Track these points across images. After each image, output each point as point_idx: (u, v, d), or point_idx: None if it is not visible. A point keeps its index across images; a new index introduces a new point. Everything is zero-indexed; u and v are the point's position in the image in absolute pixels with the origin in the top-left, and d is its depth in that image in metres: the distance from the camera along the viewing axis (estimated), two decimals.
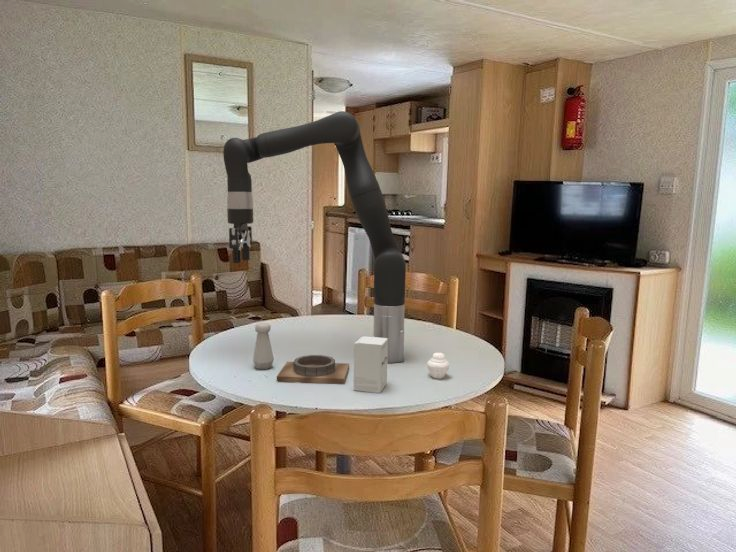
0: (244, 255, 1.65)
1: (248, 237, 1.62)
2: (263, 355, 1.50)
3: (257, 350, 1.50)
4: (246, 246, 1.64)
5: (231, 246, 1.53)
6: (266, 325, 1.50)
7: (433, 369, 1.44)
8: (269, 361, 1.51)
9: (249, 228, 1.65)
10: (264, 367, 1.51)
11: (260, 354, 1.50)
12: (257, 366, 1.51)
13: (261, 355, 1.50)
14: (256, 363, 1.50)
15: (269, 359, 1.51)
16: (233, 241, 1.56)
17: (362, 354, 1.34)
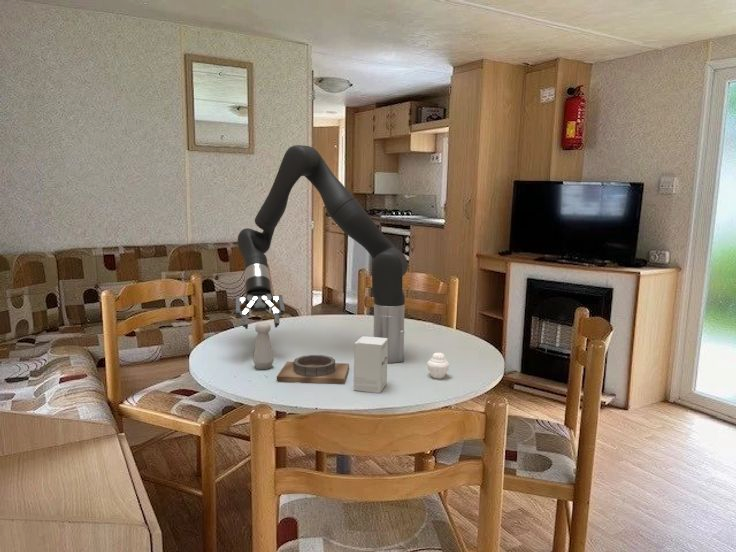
0: (274, 322, 1.58)
1: (266, 302, 1.59)
2: (263, 355, 1.50)
3: (257, 350, 1.50)
4: (274, 313, 1.59)
5: None
6: (266, 325, 1.50)
7: (433, 369, 1.44)
8: (269, 361, 1.51)
9: (278, 296, 1.62)
10: (264, 367, 1.51)
11: (261, 353, 1.50)
12: (257, 366, 1.51)
13: (261, 355, 1.50)
14: (256, 363, 1.50)
15: (269, 359, 1.51)
16: None
17: (362, 354, 1.34)
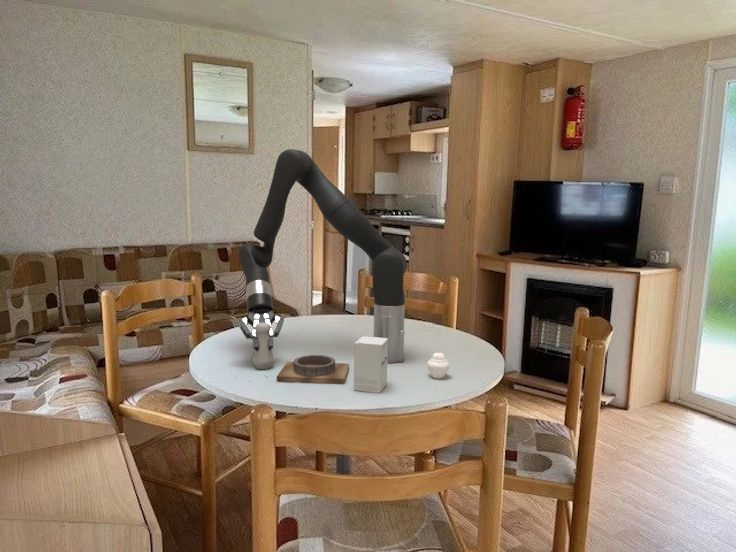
0: None
1: (265, 321, 1.54)
2: (263, 355, 1.50)
3: None
4: None
5: (245, 335, 1.52)
6: (266, 325, 1.50)
7: (433, 369, 1.44)
8: (269, 361, 1.51)
9: (280, 318, 1.56)
10: (264, 367, 1.51)
11: (260, 353, 1.50)
12: (257, 366, 1.51)
13: (261, 355, 1.50)
14: (256, 363, 1.50)
15: (269, 359, 1.51)
16: None
17: (362, 354, 1.34)
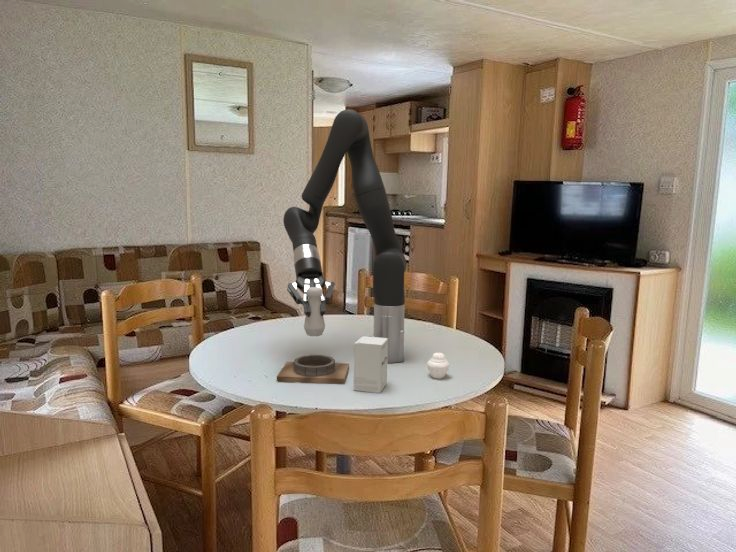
0: None
1: (316, 286, 1.46)
2: (315, 321, 1.42)
3: None
4: None
5: (296, 301, 1.45)
6: (318, 289, 1.42)
7: (433, 369, 1.44)
8: (321, 327, 1.43)
9: (330, 283, 1.49)
10: (316, 334, 1.43)
11: (312, 319, 1.42)
12: (308, 332, 1.44)
13: (313, 321, 1.42)
14: (307, 329, 1.43)
15: (321, 326, 1.43)
16: (303, 297, 1.46)
17: (362, 354, 1.34)
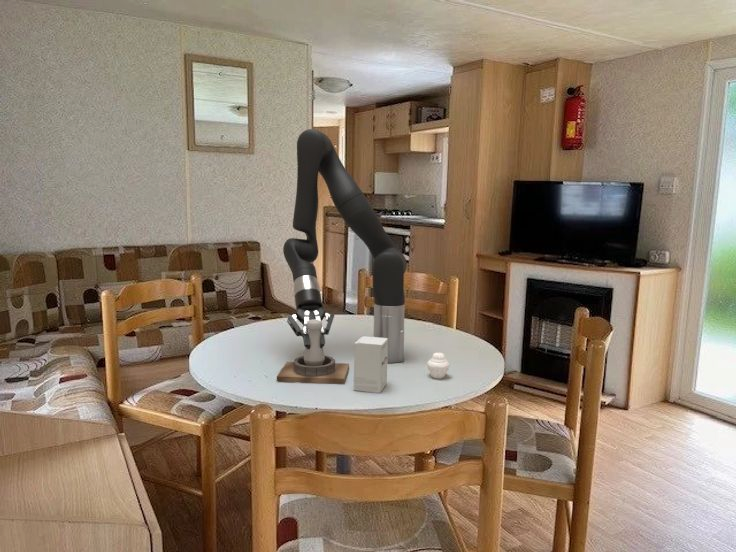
0: None
1: (315, 318, 1.48)
2: (314, 353, 1.44)
3: None
4: None
5: (296, 333, 1.46)
6: (318, 322, 1.44)
7: (433, 369, 1.44)
8: (321, 359, 1.45)
9: (330, 314, 1.50)
10: None
11: (312, 352, 1.44)
12: (308, 365, 1.45)
13: (312, 353, 1.44)
14: (307, 361, 1.44)
15: (321, 358, 1.45)
16: (303, 329, 1.48)
17: (362, 354, 1.34)
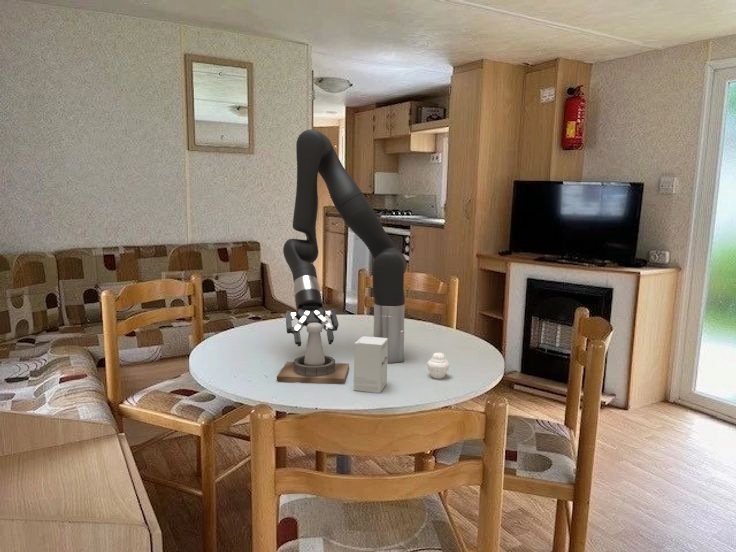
0: (328, 339, 1.47)
1: (319, 317, 1.48)
2: (315, 357, 1.44)
3: (309, 352, 1.44)
4: (327, 329, 1.48)
5: None
6: (318, 325, 1.44)
7: (433, 369, 1.44)
8: (321, 363, 1.45)
9: (330, 311, 1.51)
10: None
11: (312, 355, 1.44)
12: None
13: (313, 357, 1.44)
14: (308, 365, 1.45)
15: (321, 361, 1.45)
16: None
17: (362, 354, 1.34)
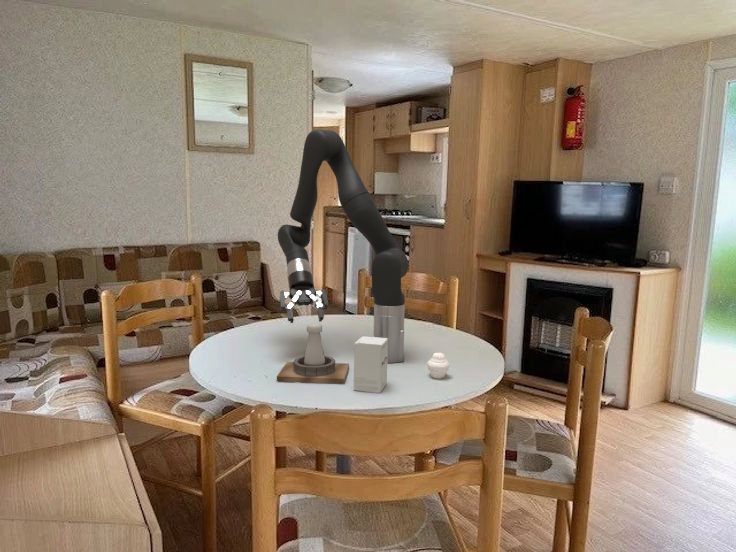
0: (318, 316, 1.58)
1: (310, 297, 1.59)
2: (315, 357, 1.44)
3: (309, 352, 1.44)
4: (318, 307, 1.59)
5: (280, 308, 1.57)
6: (318, 325, 1.44)
7: (433, 369, 1.44)
8: (321, 363, 1.45)
9: (321, 291, 1.63)
10: None
11: (312, 355, 1.44)
12: None
13: (313, 357, 1.44)
14: (308, 365, 1.45)
15: (321, 361, 1.45)
16: None
17: (362, 354, 1.34)
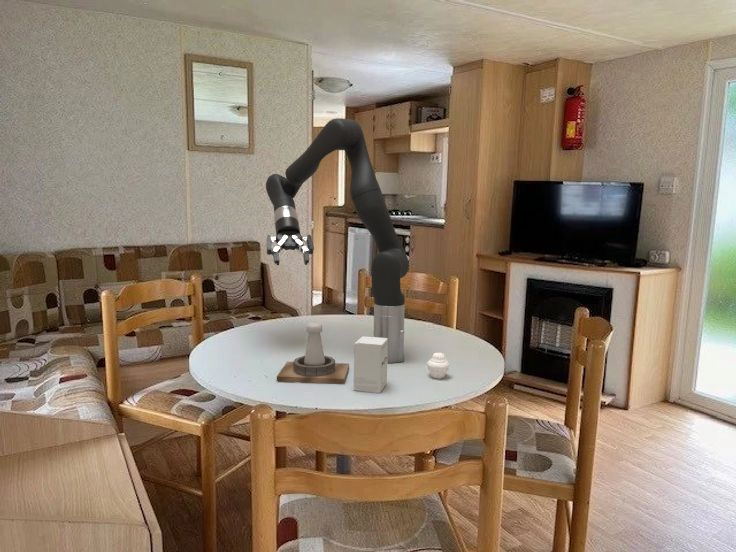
0: (304, 260, 1.63)
1: (296, 241, 1.64)
2: (315, 357, 1.44)
3: (309, 352, 1.44)
4: (304, 251, 1.64)
5: (267, 251, 1.62)
6: (318, 325, 1.44)
7: (433, 369, 1.44)
8: (321, 363, 1.45)
9: (307, 236, 1.67)
10: None
11: (312, 355, 1.44)
12: None
13: (313, 357, 1.44)
14: (308, 365, 1.45)
15: (321, 361, 1.45)
16: None
17: (362, 354, 1.34)
